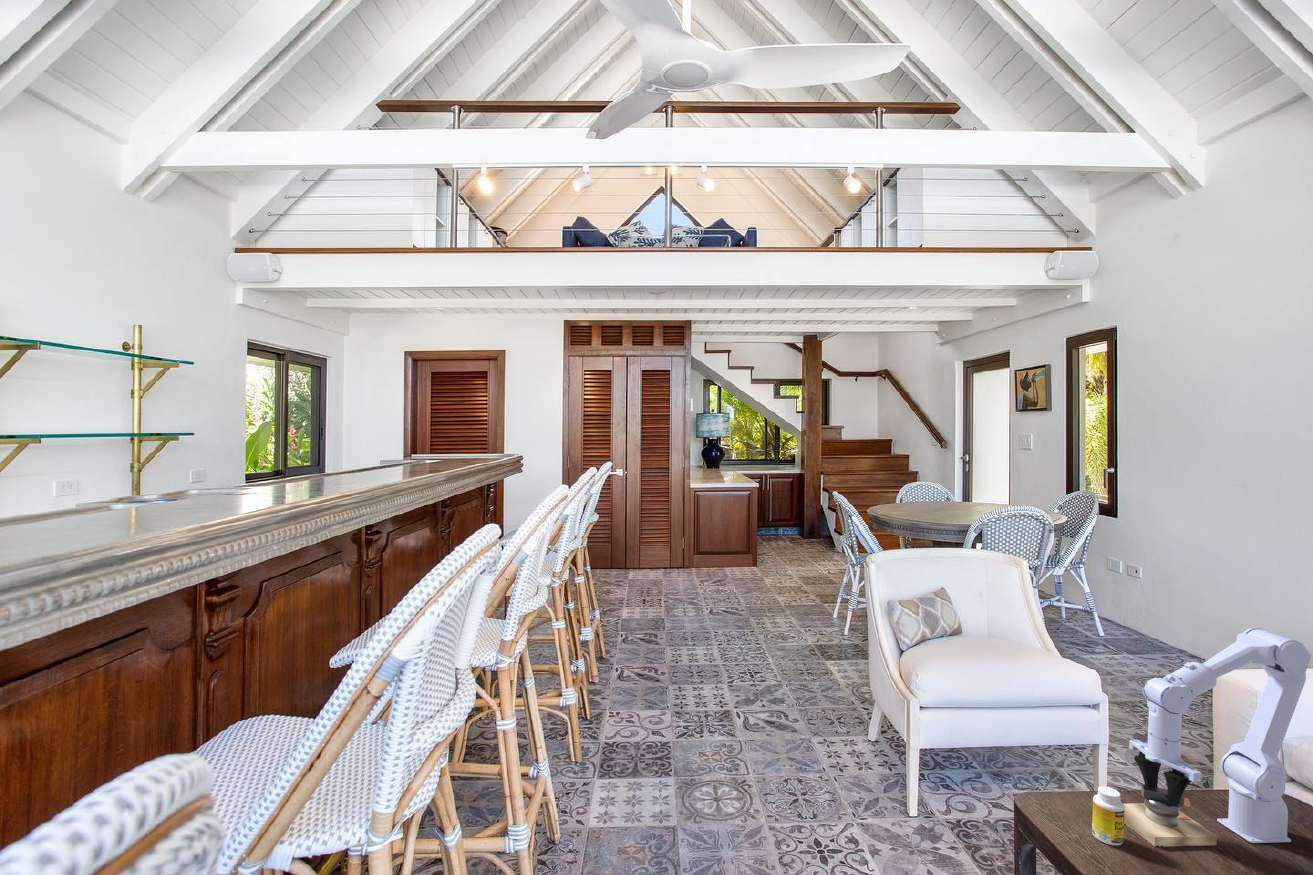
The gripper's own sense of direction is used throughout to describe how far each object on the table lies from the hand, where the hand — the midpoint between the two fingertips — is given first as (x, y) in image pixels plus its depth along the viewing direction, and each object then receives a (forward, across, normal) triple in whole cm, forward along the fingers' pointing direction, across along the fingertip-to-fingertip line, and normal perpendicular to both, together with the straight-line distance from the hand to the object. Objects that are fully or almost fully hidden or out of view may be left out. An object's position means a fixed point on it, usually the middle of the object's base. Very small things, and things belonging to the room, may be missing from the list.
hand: (1162, 796), depth 141 cm
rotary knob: (+3, 0, 0) cm, 3 cm away
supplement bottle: (+7, +1, -15) cm, 17 cm away
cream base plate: (+7, 0, 0) cm, 7 cm away
